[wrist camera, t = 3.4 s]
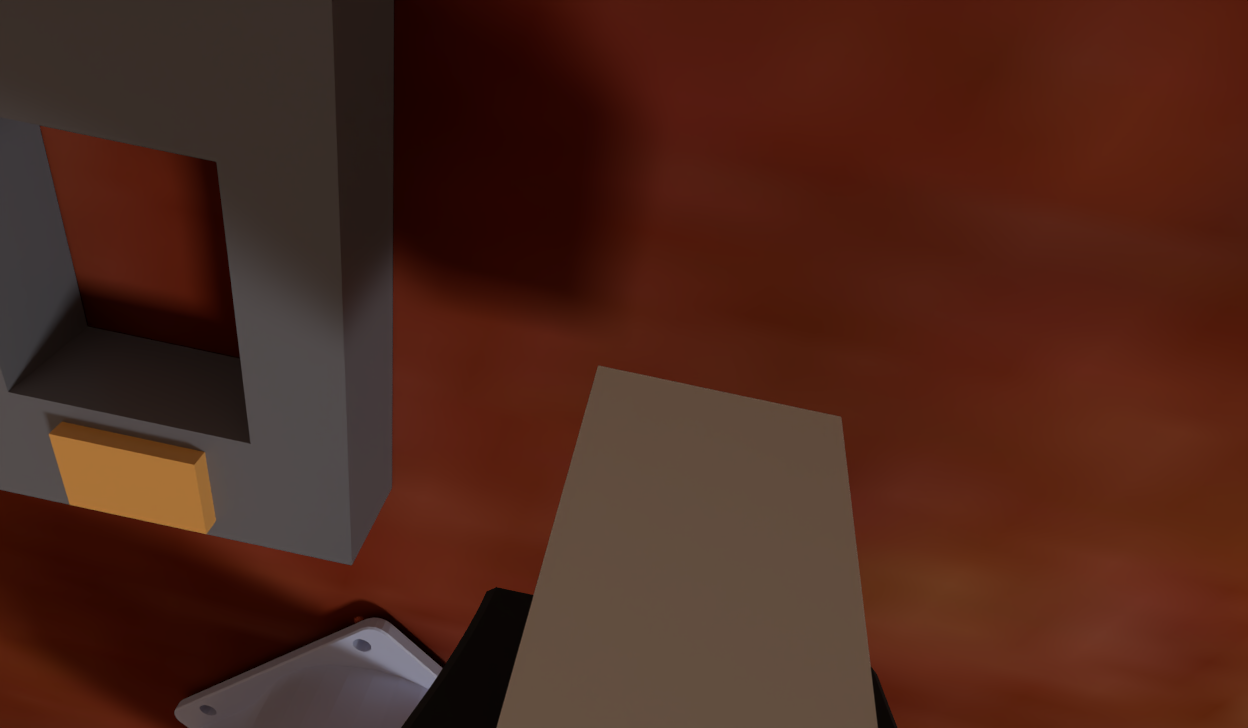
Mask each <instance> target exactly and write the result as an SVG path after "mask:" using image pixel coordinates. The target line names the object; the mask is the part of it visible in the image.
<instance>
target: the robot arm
mask: <svg viewBox="0 0 1248 728" xmlns="http://www.w3.org/2000/svg"><path fill="white" fill-rule="evenodd" d="M533 596H534V595H530V594H525V593H521V592H516V591H511V590H507V589H502V588H497V587H496V588H494V589H492V590H489V591H487V592H486V594H485V596H484V598H483V601H482V603H481V605H480V607H479V609H478V611H477V613H476V614H475V616H474V618H473V620H472V621H471V623H470V625H469V627H468V629H467V630H466V632H465V634H464V635H463V637H462V639H461V640H460V642H459V644H458V645H457V647H456V649H455V650H454V652H453V653H452V655H451V656H450V658H449V659H448V661H447V663H446V664H445V666H444V667H443V668H442V667H441V666H440V665H438V664H437V663H436V662H435V661H434V660H433V659H432V658H430V657H429V656H428V655H427V654H426V653H425V652H423V651H422V650H421V649H420V648H419V647H418V646H416V645H415V644H414V643H413V642H412V641H411V640H410V639H408V638H407V637H406V636H405V635H404V634H403V633H401V632H400V631H399V630H398V629H397V628H396V627H394V626H393V625H392V624H391V623H390V622H388V621H386V620H384V619H381V618H375V617H373V618H368V619H365V620H363V621H360V622H358V623H356V624H354V625H351V626H349V627H347V628H345V629H342V630H340V631H338V632H335V633H333V634H331V635H329V636H326V637H324V638H322V639H320V640H317V641H315V642H313V643H310V644H308V645H306V646H304V647H301V648H299V649H297V650H294V651H292V652H290V653H288V654H285V655H283V656H281V657H279V658H276V659H274V660H272V661H269V662H267V663H265V664H263V665H260V666H258V667H256V668H254V669H251V670H249V671H247V672H244V673H242V674H240V675H238V676H235V677H233V678H231V679H229V680H226V681H224V682H222V683H219V684H217V685H215V686H213V687H210V688H208V689H206V690H204V691H201V692H199V693H197V694H194V695H192V696H190V697H188V698H185V699H183V700H182V701H180V703H179V704H178V706H177V707H176V709H175V712H174V714H175V716H176V718H177V719H178V720H179V721H180V722H181V723H183V724H184V725H185V726H187V727H188V728H497V724H498V721H499V717H500V713H501V710H502V706H503V703H504V699H505V696H506V692H507V689H508V685H509V681H510V678H511V674H512V671H513V667H514V664H515V660H516V656H517V653H518V649H519V646H520V642H521V639H522V635H523V632H524V628H525V624H526V621H527V617H528V614H529V610H530V607H531V603H532V599H533ZM871 675H872V683H873V692H874V700H875V709H876V717H877V725H878V728H897V726H896V723H895V720H894V718H893V715H892V713H891V710H890V708H889V705H888V702H887V700H886V697H885V695H884V692H883V689H882V687H881V684H880V681H879V679H878V676H877V674H876V673H875V671H874V670H873V668H872V667H871Z"/></svg>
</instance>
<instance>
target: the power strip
mask: <svg viewBox="0 0 1248 728" xmlns="http://www.w3.org/2000/svg"><path fill="white" fill-rule="evenodd" d="M393 113H394V0H0V490H4V491H9V492H13V493H18V494H23V495H27V496H32V497H36V498H41V499H46V500H50V501H55V502H60V503H64V504H69V505H73V506H78V507H82V508H87V509H92V510H96V511H101V512H106V513H110V514H115V515H120V516H124V517H129V518H134V519H138V520H143V521H148V522H152V523H157V524H161V525H166V526H171V527H175V528H180V529H185V530H189V531H194V532H199V533H203V534H209V535H213V536H218V537H222V538H227V539H232V540H236V541H241V542H246V543H250V544H255V545H260V546H264V547H269V548H274V549H278V550H283V551H288V552H292V553H297V554H302V555H306V556H311V557H315V558H320V559H325V560H329V561H334V562H339V563H343V564H348V565H352V564H353V562H354V560H355V558H356V556H357V554H358V552H359V550H360V548H361V547H362V545H363V543H364V541H365V539H366V537H367V535H368V533H369V531H370V529H371V527H372V525H373V523H374V521H375V519H376V518H377V516H378V514H379V512H380V510H381V508H382V506H383V504H384V502H385V500H386V498H387V496H388V494H389V492H390V491H391V489H392V349H393ZM39 125H40V126H45V127H50V128H55V129H60V130H65V131H69V132H74V133H79V134H84V135H89V136H94V137H98V138H103V139H108V140H113V141H118V142H123V143H127V144H132V145H137V146H142V147H147V148H152V149H156V150H161V151H166V152H171V153H176V154H181V155H185V156H190V157H195V158H200V159H205V160H210V161H214V162H216V163H217V171H218V180H219V188H220V196H221V204H222V212H223V221H224V229H225V237H226V245H227V254H228V262H229V270H230V278H231V287H232V295H233V303H234V311H235V320H236V328H237V336H238V344H239V353H240V358H235V357H230V356H226V355H221V354H216V353H211V352H207V351H202V350H197V349H192V348H188V347H183V346H178V345H173V344H169V343H164V342H159V341H155V340H150V339H145V338H140V337H136V336H131V335H126V334H121V333H117V332H112V331H107V330H102V329H98V328H93V327H88V326H87V322H86V317H85V313H84V309H83V305H82V301H81V297H80V293H79V288H78V284H77V280H76V276H75V272H74V268H73V263H72V259H71V255H70V251H69V247H68V243H67V239H66V234H65V230H64V226H63V222H62V218H61V214H60V209H59V205H58V201H57V197H56V193H55V189H54V185H53V180H52V176H51V172H50V168H49V164H48V160H47V155H46V151H45V147H44V143H43V139H42V135H41V131H40V126H39Z"/></svg>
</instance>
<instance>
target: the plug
mask: <svg viewBox="0 0 1248 728" xmlns="http://www.w3.org/2000/svg"><path fill="white" fill-rule="evenodd" d="M497 728H878V725H877V717H876V709H875V700H874V692H873V683H872V675H871V666H870V658H869V649H868V641H867V632H866V624H865V615H864V607H863V598H862V590H861V581H860V573H859V564H858V556H857V547H856V539H855V530H854V522H853V513H852V505H851V497H850V488H849V480H848V471H847V463H846V454H845V446H844V437H843V429H842V420H841V417H839V416H834V415H830V414H825V413H820V412H815V411H811V410H806V409H801V408H796V407H792V406H787V405H782V404H778V403H773V402H768V401H763V400H759V399H754V398H749V397H744V396H740V395H735V394H730V393H725V392H721V391H716V390H711V389H707V388H702V387H697V386H692V385H688V384H683V383H678V382H673V381H669V380H664V379H659V378H655V377H650V376H645V375H640V374H636V373H631V372H626V371H621V370H617V369H612V368H607V367H603V366H598V368H597V372H596V375H595V379H594V382H593V386H592V389H591V393H590V396H589V400H588V404H587V407H586V411H585V414H584V418H583V421H582V425H581V429H580V432H579V436H578V439H577V443H576V446H575V450H574V453H573V457H572V461H571V464H570V468H569V471H568V475H567V478H566V482H565V486H564V489H563V493H562V496H561V500H560V503H559V507H558V510H557V514H556V518H555V521H554V525H553V528H552V532H551V535H550V539H549V542H548V546H547V550H546V553H545V557H544V560H543V564H542V567H541V571H540V575H539V578H538V582H537V585H536V589H535V592H534V596H533V599H532V603H531V607H530V610H529V614H528V617H527V621H526V624H525V628H524V632H523V635H522V639H521V642H520V646H519V649H518V653H517V656H516V660H515V664H514V667H513V671H512V674H511V678H510V681H509V685H508V689H507V692H506V696H505V699H504V703H503V706H502V710H501V713H500V717H499V721H498V724H497Z"/></svg>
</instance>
